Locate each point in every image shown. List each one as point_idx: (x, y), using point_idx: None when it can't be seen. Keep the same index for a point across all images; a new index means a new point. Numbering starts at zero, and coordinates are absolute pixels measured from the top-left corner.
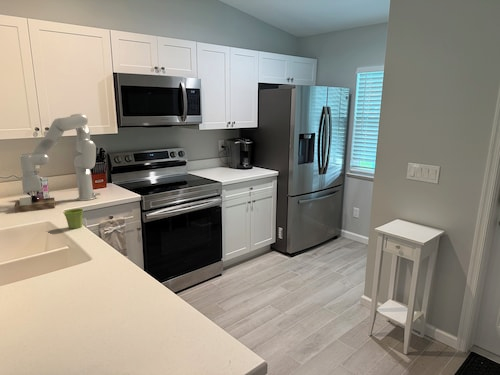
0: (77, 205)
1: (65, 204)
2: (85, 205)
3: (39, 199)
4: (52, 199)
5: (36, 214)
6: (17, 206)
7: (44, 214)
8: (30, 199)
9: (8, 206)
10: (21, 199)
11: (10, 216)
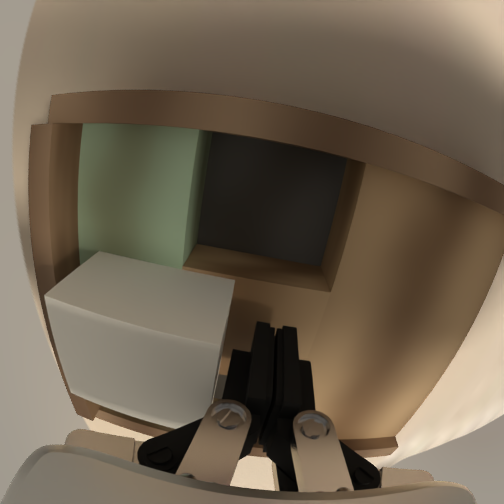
0: (481, 401)
1: (487, 332)
2: (487, 415)
3: (383, 166)
4: (498, 228)
5: (236, 473)
6: (107, 419)
7: (270, 485)
8: None
9: (52, 9)
10: (94, 398)
11: (108, 428)
